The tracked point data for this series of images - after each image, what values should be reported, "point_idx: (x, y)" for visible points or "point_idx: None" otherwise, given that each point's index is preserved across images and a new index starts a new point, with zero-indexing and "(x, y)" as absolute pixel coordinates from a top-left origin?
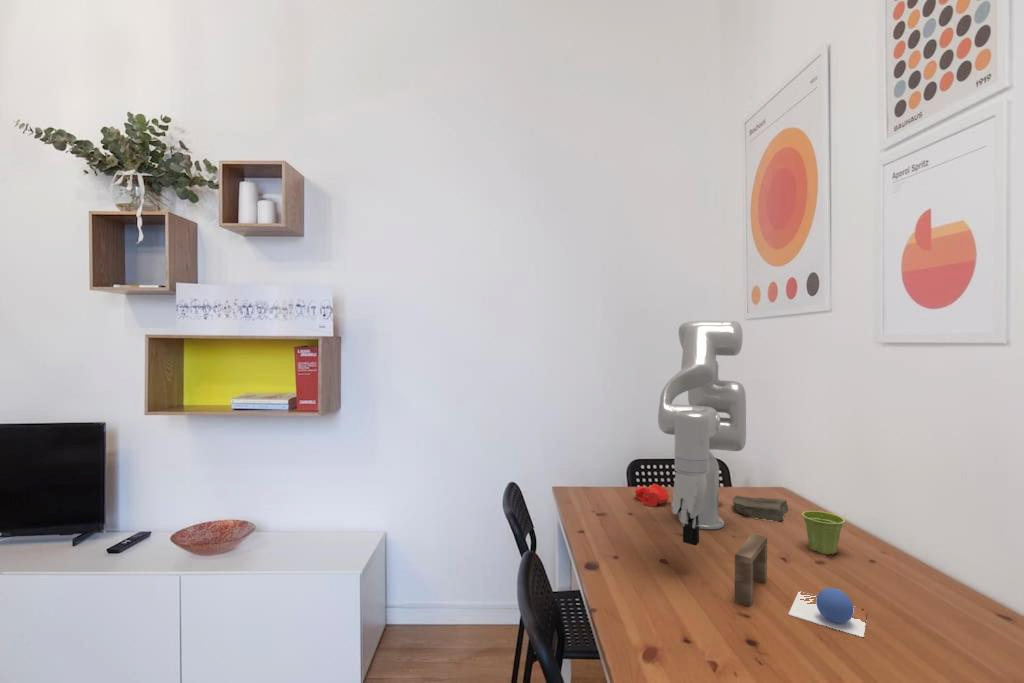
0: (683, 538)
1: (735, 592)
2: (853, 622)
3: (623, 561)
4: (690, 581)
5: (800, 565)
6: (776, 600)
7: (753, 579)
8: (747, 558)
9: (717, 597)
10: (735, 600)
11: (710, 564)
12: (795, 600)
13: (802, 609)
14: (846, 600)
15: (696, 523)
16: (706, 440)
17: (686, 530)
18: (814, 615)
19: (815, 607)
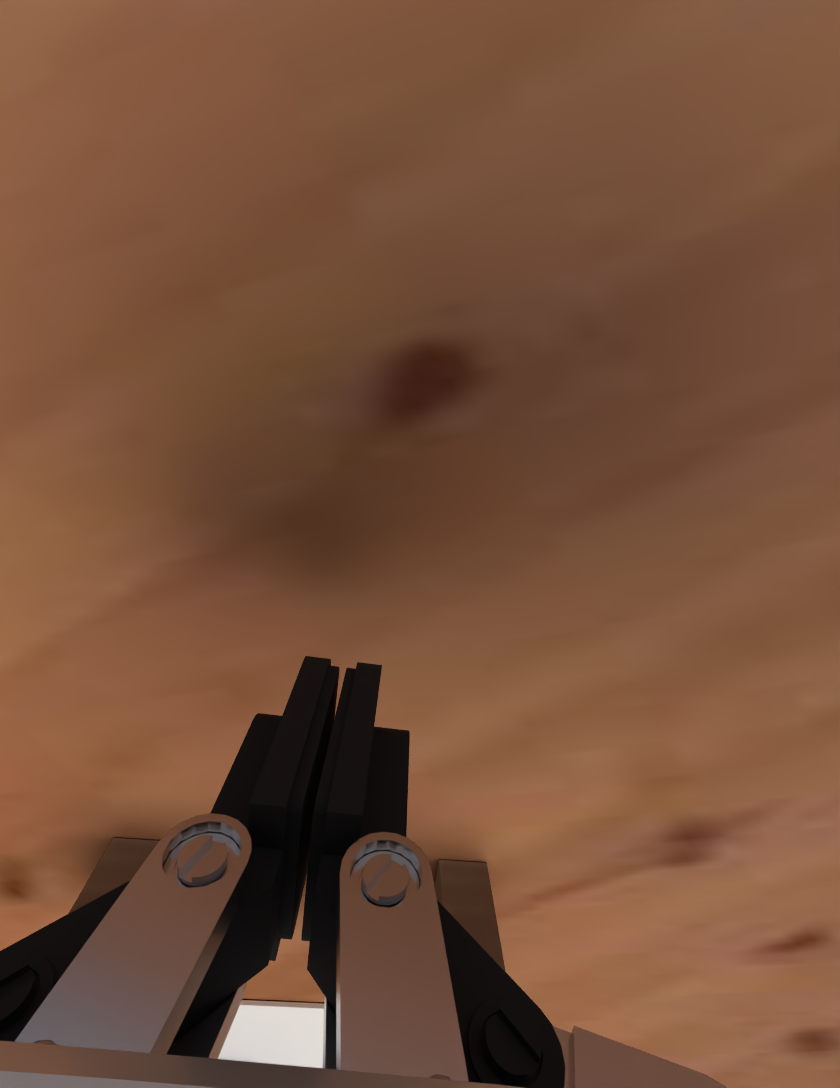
0: (296, 680)
1: (86, 888)
2: None
3: (191, 18)
4: (198, 620)
5: (741, 994)
6: None
7: (436, 876)
8: None
9: (101, 770)
10: (110, 848)
11: (541, 672)
12: (311, 1009)
13: (239, 1031)
14: None
15: (322, 991)
16: None
17: (213, 813)
18: (218, 1057)
19: (294, 1057)
